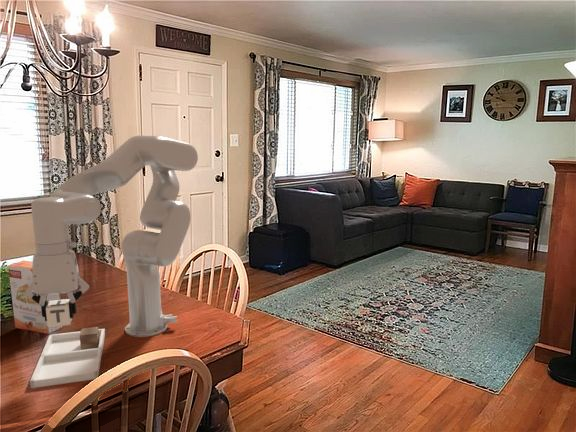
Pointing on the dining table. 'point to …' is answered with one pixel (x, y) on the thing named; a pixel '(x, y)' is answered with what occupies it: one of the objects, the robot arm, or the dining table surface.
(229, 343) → the dining table surface
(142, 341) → the dining table surface
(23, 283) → the cracker box
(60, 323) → the letter cube
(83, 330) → the walnut block
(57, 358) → the organizer
